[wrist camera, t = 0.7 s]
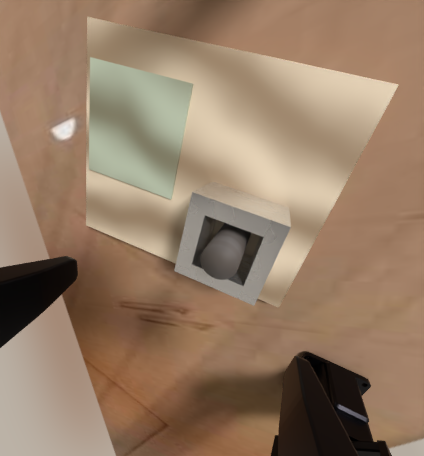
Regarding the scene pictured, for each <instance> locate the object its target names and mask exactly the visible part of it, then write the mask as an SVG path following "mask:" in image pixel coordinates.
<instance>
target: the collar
mask: <svg viewBox="0 0 424 456" xmlns="http://www.w3.org/2000/svg"><path fill="white" fill-rule="evenodd" d="M216 220H219V221H222V222H224V223H227V224H230V225H232V226H235V227H238V228H240V229H243V230H246V231H248V232H251V233H254V234H256V235H259V236H260V238H259V241H258V243H257V246H256V248H255V251H254V253H253V255H252V256H249V255H247V254H243V256H242V259H241V262H240V264H239V267H238V270H237V272H236V274H235V275H234V276H233V277H231V278H229V279H226V280H219V279H215V278H213V277H211V276H209V275H208V274H207V273H206V272H205V271H204V269H203V268H202V265H201V261H200V258H201V254H202V252H203V251H204V249H205V248H206V247H207V245H208V244H209V243H210V242H211V237H212V234H213V230H214V227H215V224H216ZM290 228H291V222H290V211H289V207H286V206H283V205H280V204H277V203H274V202H271V201H268V200H266V199H263V198H260V197H257V196H254V195H251V194H248V193H245V192H242V191H239V190H236V189H233V188H230V187H227V186H224V185H222V184H219V183H216V182H211V183H209V184H207V185H205V186H203V187H201V188H199V189H197V190H195V191H193V192H192V195H191V199H190V204H189V208H188V213H187V217H186V221H185V226H184V230H183V235H182V239H181V243H180V248H179V252H178V257H177V261H176V265H175V270H174V271H175V272H178V273H180V274H182V275H185V276H187V277H189V278H192V279H194V280H196V281H198V282H201V283H203V284H205V285H208V286H210V287H212V288H215V289H217V290H219V291H221V292H224V293H226V294H228V295H231V296H233V297H235V298H237V299H240V300H242V301H244V302H247V303H249V304H251V305H255V303H256V301H257V299H258V296H259V294H260V292H261V290H262V288H263V286H264V284H265V282H266V279H267V277H268V275H269V273H270V271H271V269H272V267H273V264H274V262H275V260H276V258H277V256H278V254H279V252H280V250H281V247H282V245H283V243H284V241H285V239H286V237H287V235H288V232H289V230H290Z"/></svg>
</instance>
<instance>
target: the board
mask: <svg viewBox="0 0 424 456" xmlns="http://www.w3.org/2000/svg"><path fill="white" fill-rule="evenodd" d="M397 87H398V85H397V84H393V83H388V82H384V81H379V80H375V79H370V78H365V77H361V76H356V75H352V74H347V73H342V72H338V71H333V70H329V69H324V68H320V67H315V66H310V65H306V64H301V63H297V62H292V61H287V60H283V59H278V58H274V57H269V56H265V55H260V54H255V53H251V52H246V51H242V50H237V49H232V48H228V47H223V46H219V45H214V44H210V43H205V42H200V41H196V40H191V39H187V38H182V37H177V36H173V35H168V34H164V33H159V32H155V31H150V30H145V29H141V28H136V27H132V26H127V25H122V24H118V23H113V22H109V21H104V20H100V19H95V18H90V17H87V143H86V225H87V226H89V227H91V228H94V229H96V230H98V231H101V232H103V233H105V234H108V235H110V236H112V237H115V238H117V239H120V240H122V241H124V242H127V243H129V244H131V245H134V246H136V247H138V248H141V249H143V250H145V251H148V252H150V253H152V254H155V255H157V256H159V257H162V258H164V259H166V260H169V261H171V262H173V263H176V261H177V257H178V252H179V248H180V243H181V239H182V235H183V230H184V226H185V221H186V217H187V213H188V208H189V204H190V199H191V195H192V192H193V191H195V190H197V189H199V188H201V187H203V186H205V185H207V184H209V183H211V182H216V183H219V184H222V185H224V186H227V187H230V188H233V189H236V190H239V191H242V192H245V193H248V194H251V195H254V196H257V197H260V198H263V199H266V200H268V201H271V202H274V203H277V204H280V205H283V206H286V207H289V211H290V222H291V228H290V230H289V232H288V235H287V237H286V239H285V241H284V243H283V245H282V247H281V250H280V252H279V254H278V256H277V258H276V260H275V262H274V264H273V267H272V269H271V271H270V273H269V275H268V277H267V279H266V282H265V284H264V286H263V288H262V290H261V292H260V294H259V296H258V299H260V300H262V301H264V302H267V303H269V304H271V305H274V306H276V307H278V308H279V306H280V304H281V302H282V300H283V299H284V297H285V295H286V293H287V291H288V289H289V287H290V286H291V284H292V282H293V280H294V278H295V276H296V274H297V273H298V271H299V269H300V267H301V265H302V263H303V262H304V260H305V258H306V256H307V254H308V252H309V250H310V249H311V247H312V245H313V243H314V241H315V239H316V237H317V236H318V234H319V232H320V230H321V228H322V226H323V224H324V223H325V221H326V219H327V217H328V215H329V213H330V211H331V210H332V208H333V206H334V204H335V202H336V200H337V198H338V197H339V195H340V193H341V191H342V189H343V187H344V185H345V184H346V182H347V180H348V178H349V176H350V174H351V172H352V171H353V169H354V167H355V165H356V163H357V161H358V159H359V158H360V156H361V154H362V152H363V150H364V148H365V146H366V145H367V143H368V141H369V139H370V137H371V135H372V133H373V132H374V130H375V128H376V126H377V124H378V122H379V120H380V119H381V117H382V115H383V113H384V111H385V109H386V107H387V106H388V104H389V102H390V100H391V98H392V96H393V94H394V93H395V91H396V89H397ZM259 238H260V236H259V235H256V234H254V233H251V232H248V231H246V230H243V229H240V228H238V227H235V226H232V225H230V224H227V223H224V222H222V221H219V220H216V224H215V227H214V230H213V234H212V237H211V242H210V243H209V244H208V245H207V247H206V248H205V249H204V251H203V252H202V254H201V258H200V261H201V265H202V268H203V269H204V271H205V272H206V273H207V274H208V275H209V276H211V277H213V278H215V279H219V280H226V279H229V278H231V277H233V276H234V275H235V274H236V272H237V270H238V267H239V264H240V262H241V259H242V256H243V254H247V255H249V256H252V255H253V253H254V251H255V248H256V246H257V243H258V241H259Z"/></svg>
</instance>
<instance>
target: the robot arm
mask: <svg viewBox="0 0 424 456" xmlns="http://www.w3.org/2000/svg"><path fill="white" fill-rule="evenodd" d="M77 276H78V271H77V261H76V260H75V259H73V258H71V257H68V256H64V257H58V258H53V259H47V260H42V261H36V262H30V263H24V264H19V265H13V266H7V267H2V268H0V348H1V347H2V346H3V345H4V344H6V343H7V342H8V341H9V340H10V339H12V338H13V337H14V336H15V335H16V334H17V333H19V332H20V331H21V330H22V329H24V328H25V327H26V326H27V325H28V324H30V323H31V322H32V321H33V320H34V319H36V318H37V317H38V316H39V315H40V314H41V313H43V312H44V311H45V310H46V309H47V308H48V307H49V306H50V305H51V304H52V303H53V302H54V301H55V300H56V299H57V298H58V297H59V296H60V295H61V294H62V293H63V292H64V291H65V290H66V289H67V288H68V287H69V286H70V285H71V284H72V283H73V282H74V281H75V280H76V279H77ZM308 357H309V358H308ZM370 387H371V385H370V382H369V380H368V379H367V378H365V377H362V376H360V375H358V374H356V373H354V372H351V371H349V370H347V369H345V368H342V367H340V366H338V365H336V364H334V363H331V362H329V361H327V360H325V359H323V358H320V357H318V356H316V355H314V354H312V353H309V352H306V353H304V354H303V356H302V357H299V356H295V357H294V358H293V359H292V361H291V363H290V364H289V366H288V368H287V369H286V372H285V376H284V383H283V393H282V403H281V412H280V421H279V435H275V439H274V444H273V448H272V453H271V456H392V455H391V453H390V451H389V448H388V446H387V444H386V442H385V441H379V440H377V442H374V441H373V438H372V435H371V431H370V428H369V425H368V422H369V418H368V415H367V412H366V409H365V406H364V402H363V399H362V395H363V394H364V393H365V392H366V391H367V390H368V389H369V388H370Z"/></svg>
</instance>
